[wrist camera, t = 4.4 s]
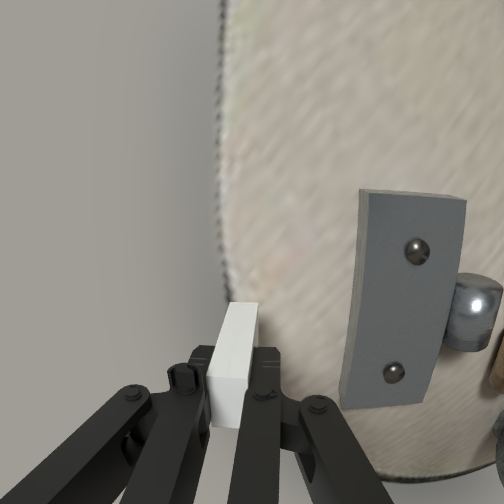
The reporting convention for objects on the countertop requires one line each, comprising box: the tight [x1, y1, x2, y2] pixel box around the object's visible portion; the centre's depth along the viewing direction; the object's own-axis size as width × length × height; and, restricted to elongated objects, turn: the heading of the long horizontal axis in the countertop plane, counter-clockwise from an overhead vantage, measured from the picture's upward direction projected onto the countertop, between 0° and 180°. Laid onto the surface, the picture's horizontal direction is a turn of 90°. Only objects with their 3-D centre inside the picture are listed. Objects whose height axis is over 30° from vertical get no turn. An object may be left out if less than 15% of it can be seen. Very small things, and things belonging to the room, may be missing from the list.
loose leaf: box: [339, 189, 504, 409], centre depth 17 cm, size 14×10×4 cm
